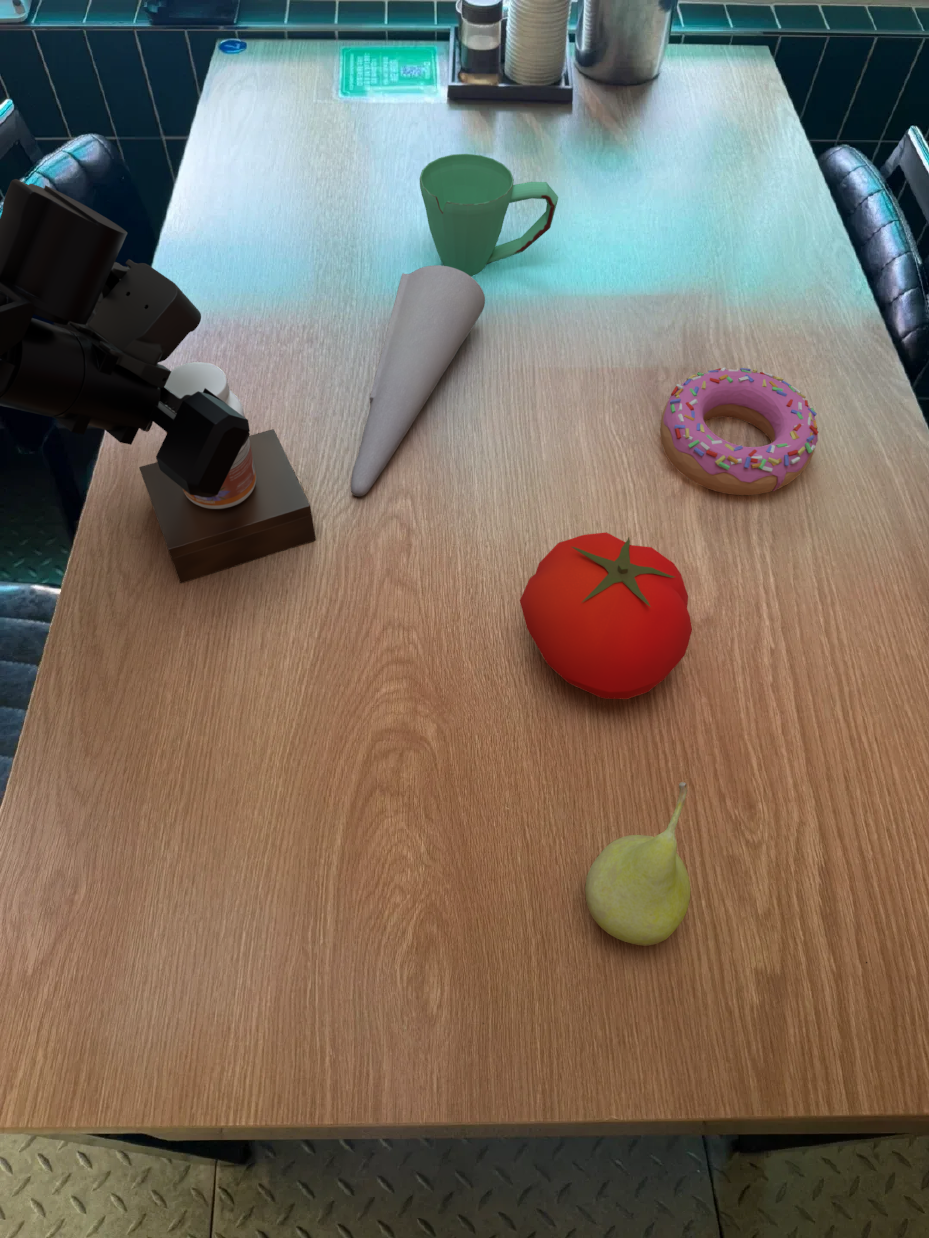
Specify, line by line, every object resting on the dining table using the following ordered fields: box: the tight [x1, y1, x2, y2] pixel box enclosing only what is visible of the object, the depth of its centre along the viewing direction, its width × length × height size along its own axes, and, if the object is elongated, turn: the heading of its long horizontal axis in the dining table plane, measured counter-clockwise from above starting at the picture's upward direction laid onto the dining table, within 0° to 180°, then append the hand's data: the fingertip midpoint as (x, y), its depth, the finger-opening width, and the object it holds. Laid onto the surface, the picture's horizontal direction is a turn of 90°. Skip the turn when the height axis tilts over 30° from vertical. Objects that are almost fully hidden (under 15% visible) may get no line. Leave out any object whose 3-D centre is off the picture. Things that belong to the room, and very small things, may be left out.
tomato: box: [519, 531, 693, 700], centre depth 72 cm, size 13×12×11 cm
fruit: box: [584, 781, 692, 947], centre depth 60 cm, size 7×8×12 cm
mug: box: [419, 153, 559, 277], centre depth 103 cm, size 15×10×10 cm
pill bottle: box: [165, 361, 256, 509], centre depth 75 cm, size 6×6×11 cm
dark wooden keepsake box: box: [139, 428, 317, 584], centre depth 82 cm, size 12×10×4 cm
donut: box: [659, 367, 819, 496], centre depth 88 cm, size 14×14×5 cm
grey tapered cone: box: [350, 264, 486, 497], centre depth 91 cm, size 8×9×26 cm
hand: (219, 418), depth 75 cm, fingers closed on pill bottle, 6 cm apart
